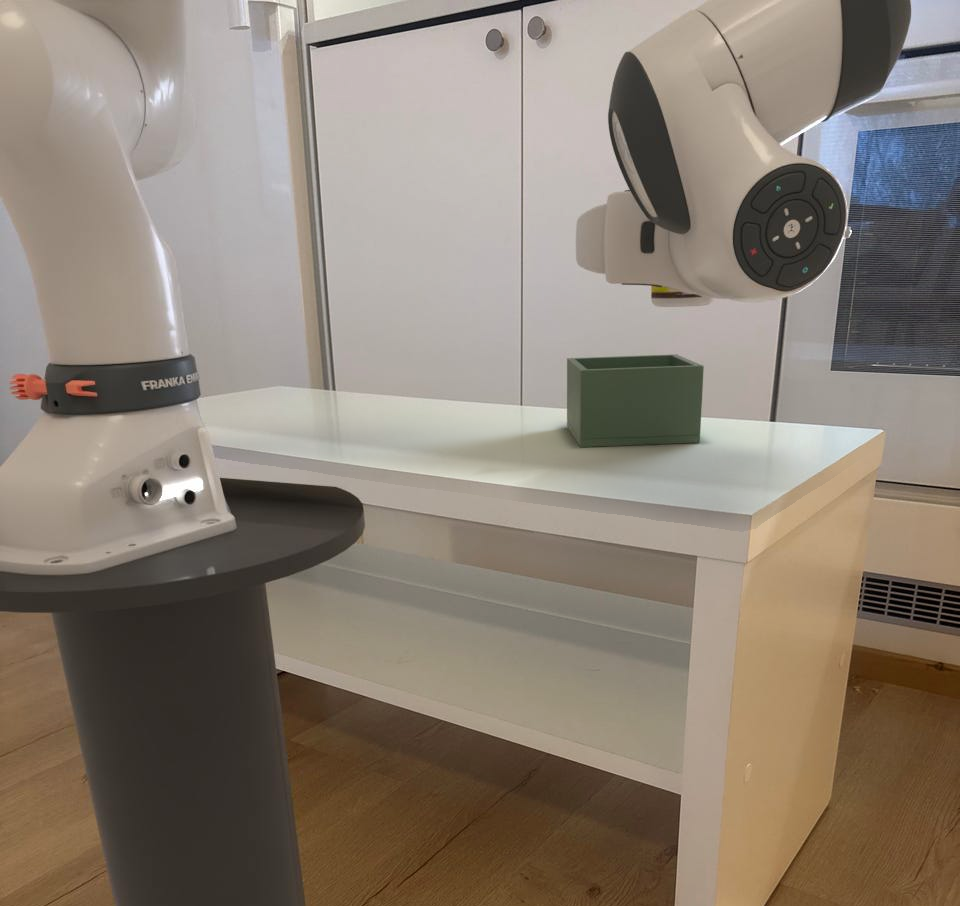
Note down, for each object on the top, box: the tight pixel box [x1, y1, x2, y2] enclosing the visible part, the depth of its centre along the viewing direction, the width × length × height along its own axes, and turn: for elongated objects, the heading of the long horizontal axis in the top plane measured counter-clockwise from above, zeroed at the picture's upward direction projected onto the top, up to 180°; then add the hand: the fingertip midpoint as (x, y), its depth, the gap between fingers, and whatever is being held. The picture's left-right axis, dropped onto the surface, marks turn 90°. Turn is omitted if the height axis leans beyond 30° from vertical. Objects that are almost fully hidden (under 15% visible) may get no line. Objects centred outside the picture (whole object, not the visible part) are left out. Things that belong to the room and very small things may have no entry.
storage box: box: [566, 353, 705, 448], centre depth 103 cm, size 13×13×8 cm
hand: (681, 239), depth 84 cm, fingers closed on supplement bottle, 5 cm apart
